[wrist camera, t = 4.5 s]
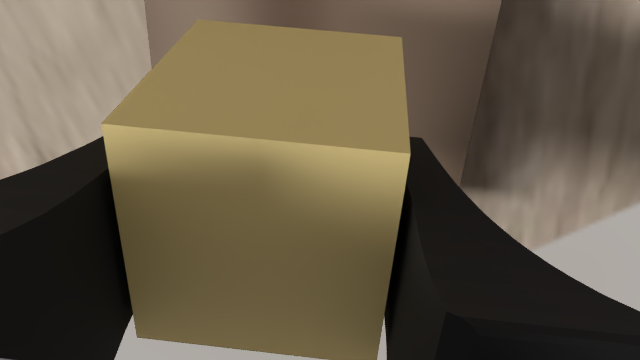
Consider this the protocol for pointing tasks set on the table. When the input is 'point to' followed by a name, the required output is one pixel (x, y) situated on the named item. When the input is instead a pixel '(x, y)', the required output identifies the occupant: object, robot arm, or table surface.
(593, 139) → the table surface
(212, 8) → the walnut plinth
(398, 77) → the mustard block
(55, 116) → the table surface
